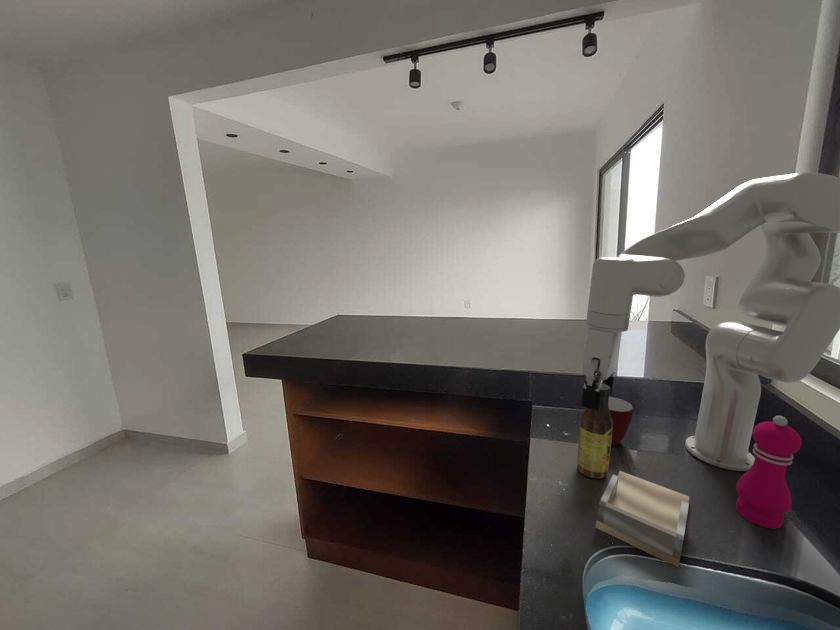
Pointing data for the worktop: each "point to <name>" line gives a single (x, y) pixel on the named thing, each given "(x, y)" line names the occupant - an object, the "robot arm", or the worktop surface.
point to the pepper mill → (768, 474)
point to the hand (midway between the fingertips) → (596, 399)
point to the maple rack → (644, 516)
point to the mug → (619, 418)
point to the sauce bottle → (595, 438)
